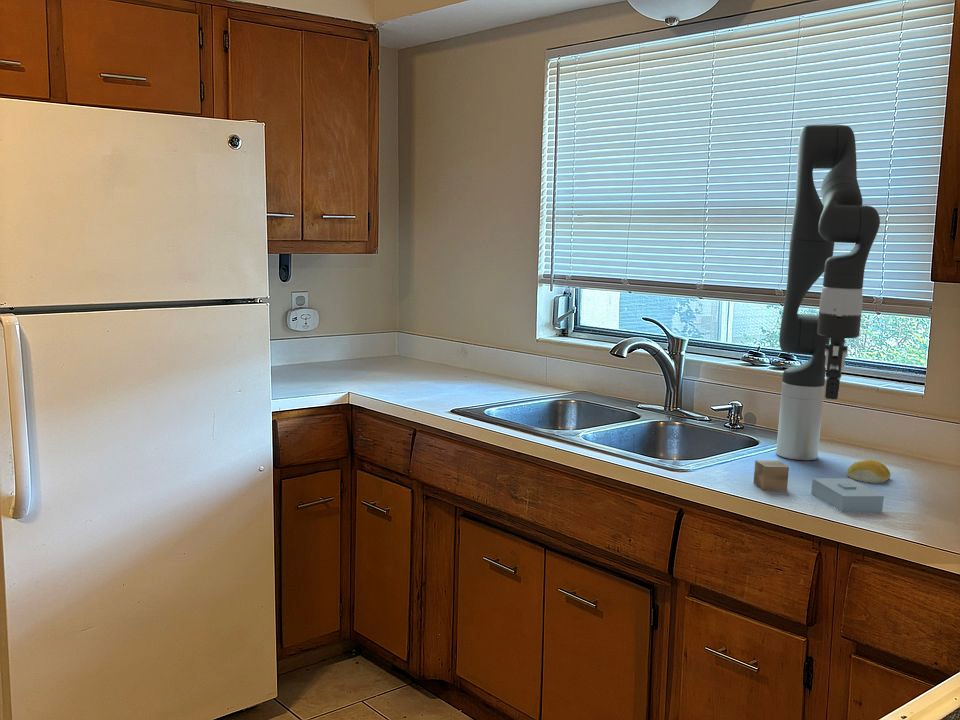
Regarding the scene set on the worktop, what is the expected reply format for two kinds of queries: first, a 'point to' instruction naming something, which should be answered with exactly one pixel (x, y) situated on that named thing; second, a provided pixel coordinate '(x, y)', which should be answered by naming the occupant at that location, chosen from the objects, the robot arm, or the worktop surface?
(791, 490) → the worktop surface
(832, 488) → the butter dish
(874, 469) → the bread roll
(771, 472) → the walnut cube
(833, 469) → the worktop surface
